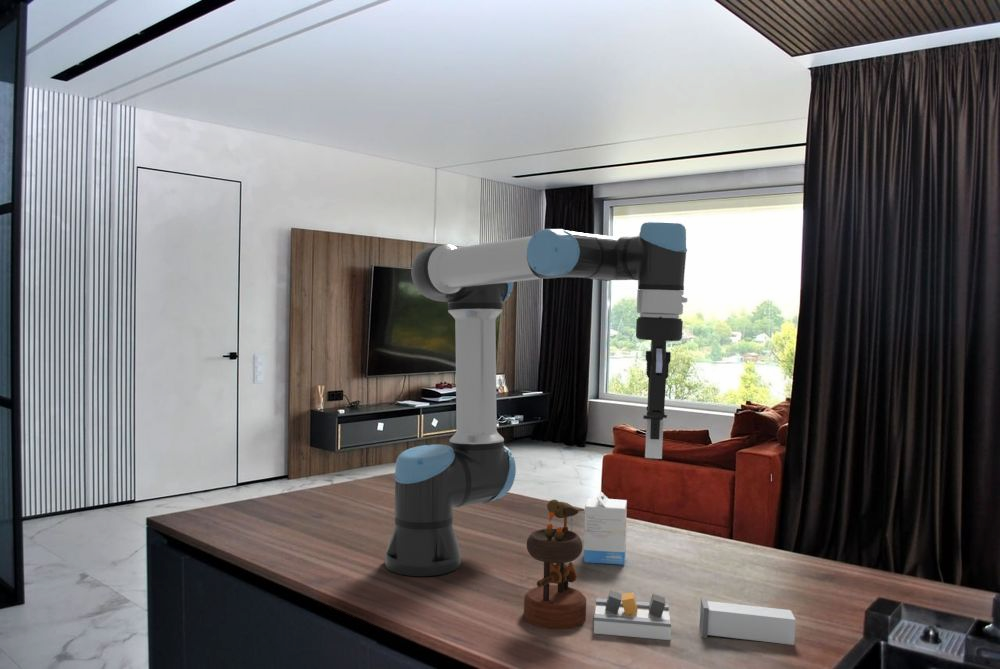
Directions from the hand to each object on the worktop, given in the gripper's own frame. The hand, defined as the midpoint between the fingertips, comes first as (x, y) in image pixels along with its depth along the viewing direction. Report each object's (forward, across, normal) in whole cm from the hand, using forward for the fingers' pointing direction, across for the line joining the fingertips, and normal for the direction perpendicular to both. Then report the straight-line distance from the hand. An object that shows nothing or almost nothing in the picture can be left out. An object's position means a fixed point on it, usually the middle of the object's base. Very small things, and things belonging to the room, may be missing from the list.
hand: (653, 457), depth 128 cm
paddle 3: (+25, -4, -1) cm, 25 cm away
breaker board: (+27, -4, +2) cm, 28 cm away
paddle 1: (+25, -4, +6) cm, 26 cm away
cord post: (+25, -4, -9) cm, 26 cm away
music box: (+28, -3, +15) cm, 32 cm away
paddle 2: (+25, -4, +2) cm, 26 cm away
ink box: (+28, +31, +8) cm, 43 cm away
